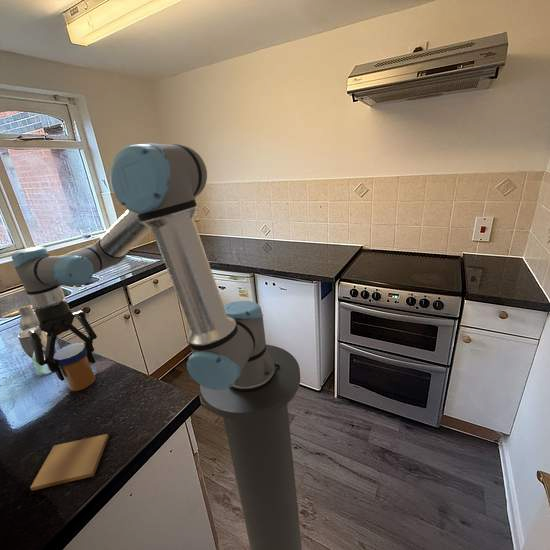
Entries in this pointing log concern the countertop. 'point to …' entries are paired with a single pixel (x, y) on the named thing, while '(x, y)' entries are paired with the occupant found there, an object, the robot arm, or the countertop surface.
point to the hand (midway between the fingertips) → (77, 369)
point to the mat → (71, 462)
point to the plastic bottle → (28, 319)
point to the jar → (78, 374)
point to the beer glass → (29, 349)
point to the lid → (70, 354)
